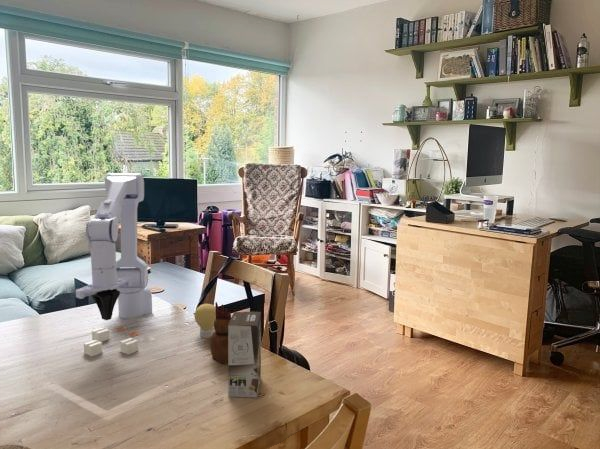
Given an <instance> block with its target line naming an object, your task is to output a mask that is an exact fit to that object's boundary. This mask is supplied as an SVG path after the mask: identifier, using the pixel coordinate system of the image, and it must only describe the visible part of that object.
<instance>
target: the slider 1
mask: <svg viewBox="0 0 600 449" xmlns="http://www.w3.org/2000/svg"><path fill="white" fill-rule="evenodd" d="M91 333H92V334H91V338H92V339H91V341H93V340H97V341H99V342H102V343H103V342H106V341H108V340H110V330H109V329H108V328H106V327H100V328H97V329H93V330H91Z"/></svg>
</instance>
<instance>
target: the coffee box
mask: <svg viewBox="0 0 600 449" xmlns="http://www.w3.org/2000/svg"><path fill="white" fill-rule="evenodd" d="M227 370H228V372H227V375H228V376H227V380H228V381H227V384H228V385H227V386H228V387H227V389H228V390H227V395H228V397H236V398H237V397H238V398H255V399H256V398H257V397H258V392H259V387H260V383H261V379H262V373H261V372H262V312H261V311H234V312H233V313H232V314H231V320H230V322H229V324H228V363H227Z"/></svg>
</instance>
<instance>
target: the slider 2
mask: <svg viewBox="0 0 600 449" xmlns="http://www.w3.org/2000/svg"><path fill="white" fill-rule="evenodd" d="M119 343H120V344H119V346H120V352H121V353H123V354H126V355H130V354H133V353H135V352H137V351H139V340H137V339H135V338H133V337H129V338H127V339H123V340H121V341H119Z"/></svg>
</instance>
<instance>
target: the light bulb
mask: <svg viewBox="0 0 600 449" xmlns="http://www.w3.org/2000/svg"><path fill="white" fill-rule="evenodd" d="M215 319H216V305H214V304H211V303H203V304H200V305H199V306H197V308H196V309H195V311H194V321H195V322H196V324H197V325H198V326H199V337H200V338H203V339H210V338H211V335H212V334H213V332H215V329H214V321H215Z"/></svg>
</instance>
